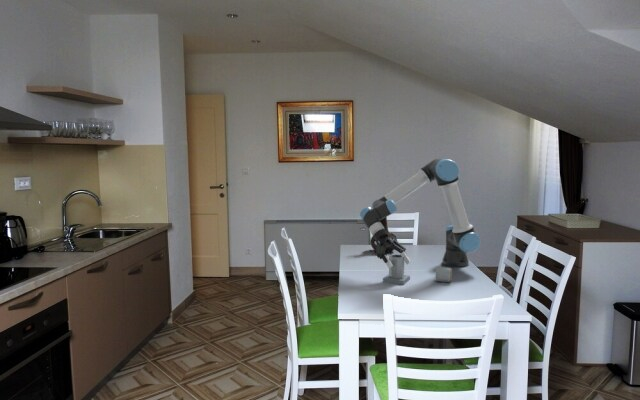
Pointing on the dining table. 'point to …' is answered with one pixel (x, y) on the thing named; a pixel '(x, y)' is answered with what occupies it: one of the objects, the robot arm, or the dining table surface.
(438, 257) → the dining table surface
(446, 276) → the ceramic mug
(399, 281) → the peg block
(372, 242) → the dark brown rounded piece
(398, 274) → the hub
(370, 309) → the dining table surface
